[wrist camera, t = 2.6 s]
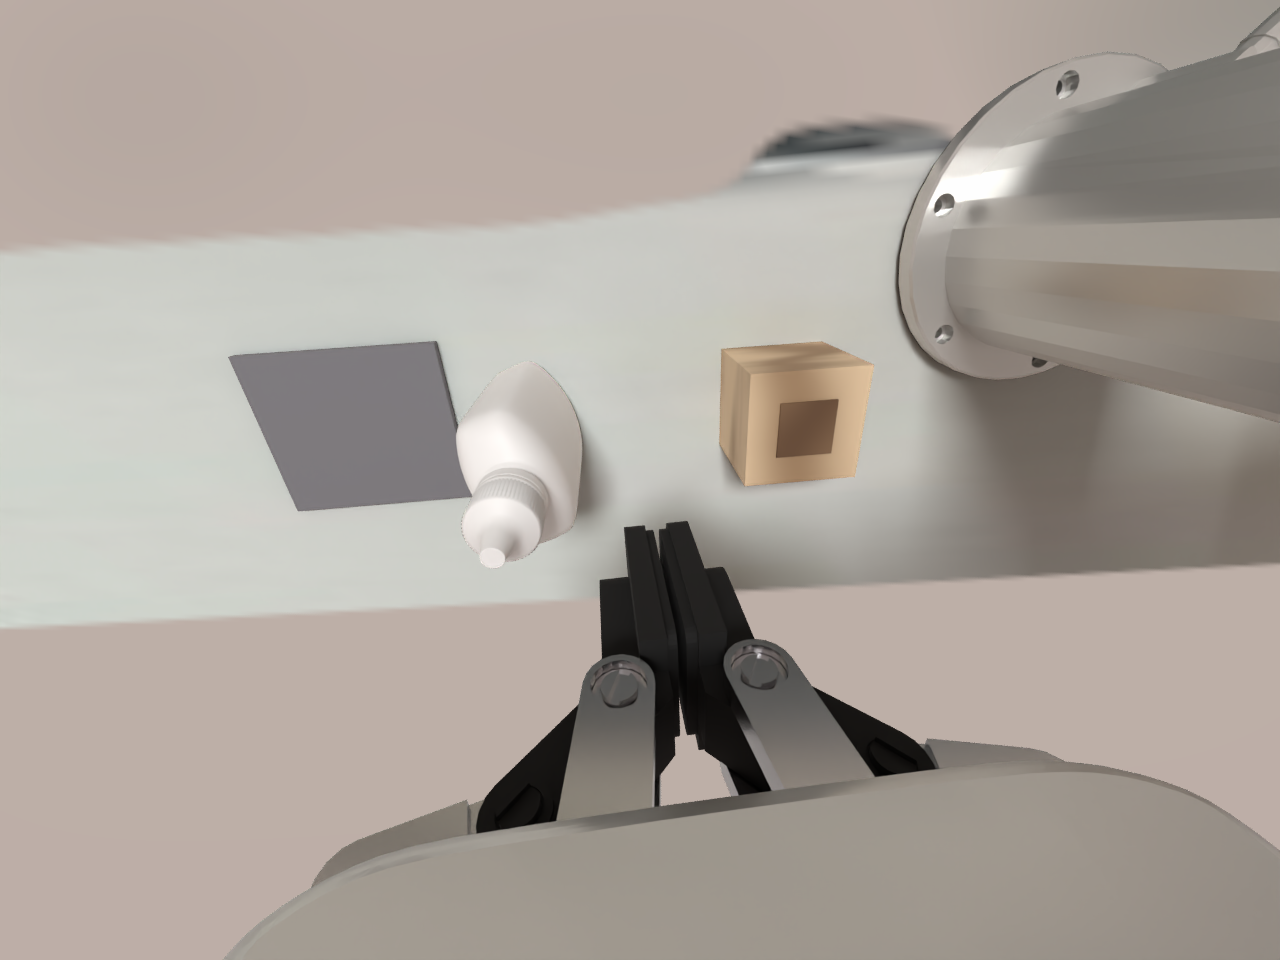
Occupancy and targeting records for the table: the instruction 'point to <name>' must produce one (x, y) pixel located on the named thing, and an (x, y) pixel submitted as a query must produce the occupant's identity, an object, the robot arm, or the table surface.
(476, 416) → the eye dropper bottle
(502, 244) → the table surface
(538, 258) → the table surface
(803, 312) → the table surface
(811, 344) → the oak cube
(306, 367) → the mat
